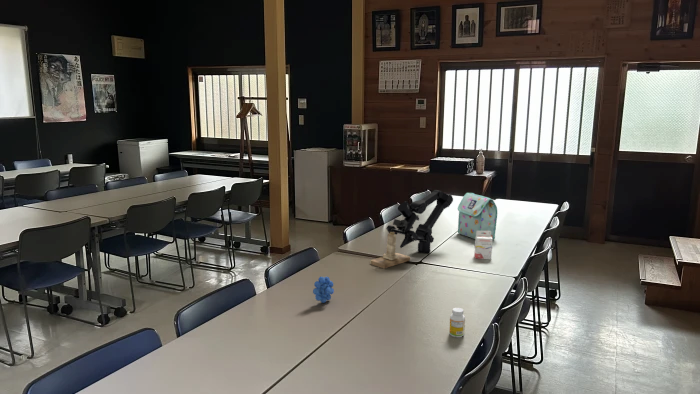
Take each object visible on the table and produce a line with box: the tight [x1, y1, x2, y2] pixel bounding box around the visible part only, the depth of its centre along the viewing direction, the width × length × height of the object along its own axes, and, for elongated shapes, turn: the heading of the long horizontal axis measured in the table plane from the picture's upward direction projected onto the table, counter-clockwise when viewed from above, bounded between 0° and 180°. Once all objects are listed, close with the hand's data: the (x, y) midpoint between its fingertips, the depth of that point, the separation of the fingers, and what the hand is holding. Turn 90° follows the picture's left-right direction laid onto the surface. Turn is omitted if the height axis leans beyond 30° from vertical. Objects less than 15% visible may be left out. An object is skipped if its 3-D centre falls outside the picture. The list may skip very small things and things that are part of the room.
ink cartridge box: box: [473, 231, 494, 260], centre depth 275 cm, size 9×5×15 cm, turn 84°
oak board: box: [370, 252, 411, 269], centre depth 269 cm, size 20×10×2 cm, turn 132°
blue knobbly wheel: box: [312, 276, 335, 304], centre depth 214 cm, size 12×7×12 cm, turn 138°
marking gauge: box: [382, 232, 398, 260], centre depth 268 cm, size 5×6×14 cm
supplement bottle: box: [449, 307, 466, 338], centre depth 186 cm, size 5×5×10 cm
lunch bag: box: [457, 192, 498, 240], centre depth 317 cm, size 23×16×27 cm
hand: (394, 245), depth 269 cm, fingers open, 9 cm apart
